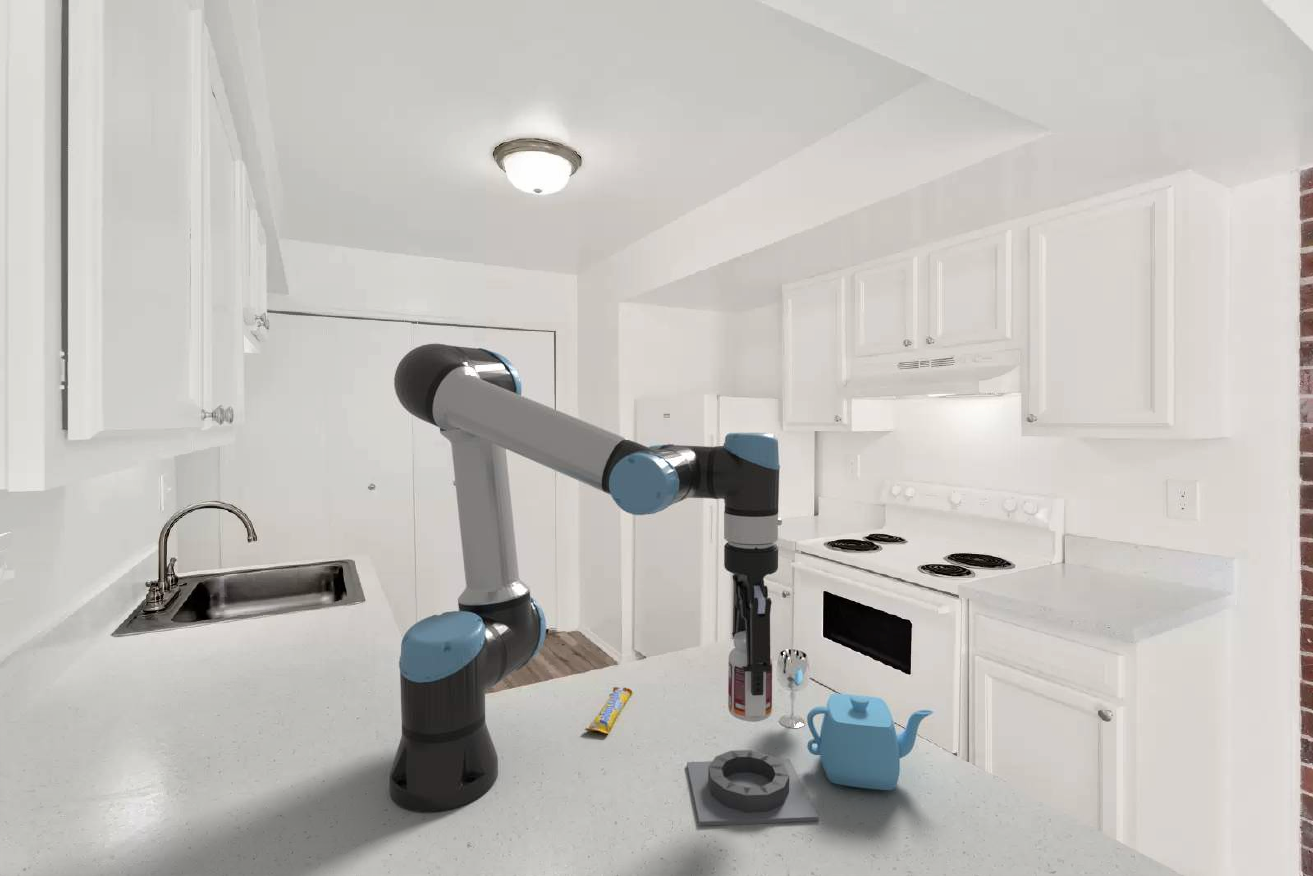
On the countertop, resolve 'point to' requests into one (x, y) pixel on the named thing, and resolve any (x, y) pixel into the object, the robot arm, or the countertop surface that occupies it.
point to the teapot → (861, 741)
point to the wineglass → (792, 680)
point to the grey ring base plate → (748, 790)
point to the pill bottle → (743, 681)
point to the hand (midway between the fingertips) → (749, 703)
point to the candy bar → (611, 710)
